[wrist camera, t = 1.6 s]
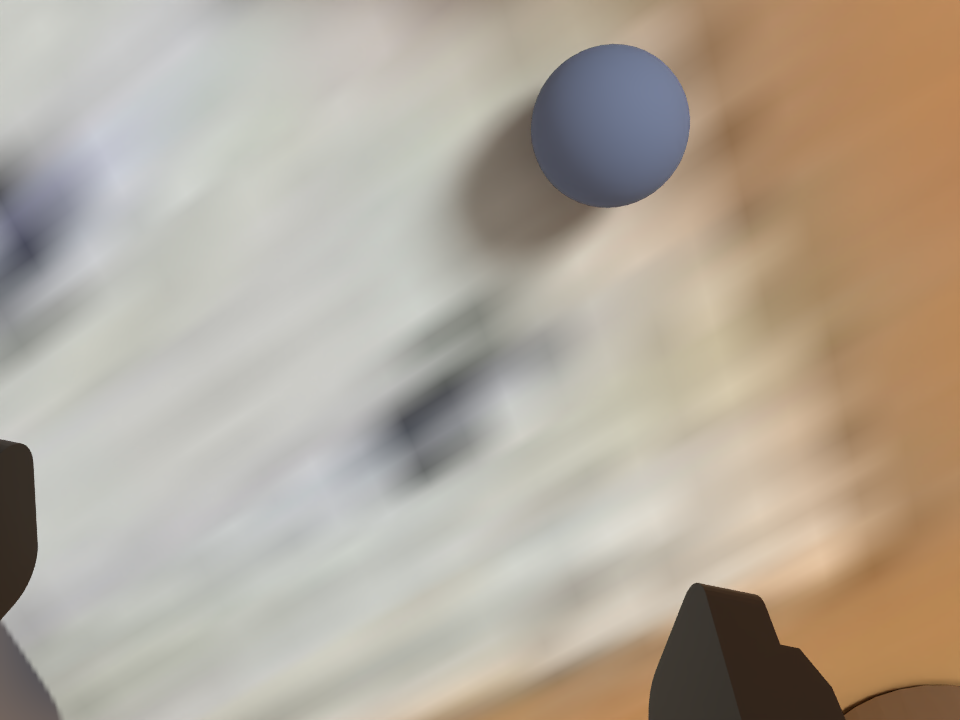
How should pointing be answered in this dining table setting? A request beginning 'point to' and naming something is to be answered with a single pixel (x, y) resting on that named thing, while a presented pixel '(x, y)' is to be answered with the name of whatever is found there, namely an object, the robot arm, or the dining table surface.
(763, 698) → the robot arm
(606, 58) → the ball
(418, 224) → the dining table surface
